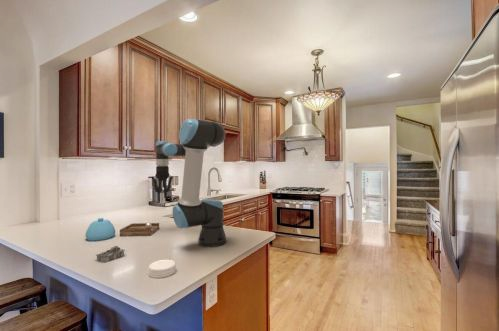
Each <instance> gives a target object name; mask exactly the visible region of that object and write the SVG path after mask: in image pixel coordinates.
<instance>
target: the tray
mask: <svg viewBox="0 0 499 331" xmlns="http://www.w3.org/2000/svg"><path fill="white" fill-rule="evenodd" d="M147 223H148V222H147ZM147 223H142V222H140V223H139V222H138V223H130V224H128V225H125V226H124V227H122V228H121V229H119V237H150V236H152V235H154V234H155V233H156V232H157V231H159V230H160V222H153V223H151V222H150V223H151V225H152V226H151V228H149V229H148V228H146V226H145V225H146V224H147Z"/></svg>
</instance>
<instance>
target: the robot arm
mask: <svg viewBox="0 0 499 331" xmlns="http://www.w3.org/2000/svg"><path fill="white" fill-rule="evenodd" d="M178 138H179V142H180V143H173V142H168V141H164V140H163V141H162V140H160V141H156V143H155V165H156V167H155V171H156V172H155V175H154V176H151V179H152V181H153V186H154V191H155V192H156V193H157V194H158V198H159V204H166V198H167V197H168V194H167V193H169V192H170V191H171V186H172V180H173V179H174V176H172V175H171V174H170V172H169V171H170V169H169V168H170V167H169V165H170V164H169V163H170V160H169V159H170V158H169V157H184V163H183V164H184V168H183V176H182V177H183V178H182V190H181V196H180V197H179V199H178V200H177V204H176V205H173V207H172V218H173V222H174V223H175V226H176V227H177V228H179V229H185V228H186V229H188V228H192V227H193V228H194V227H200V226H201V227H200V228H201V229H200V233H199V236H198V239H197V241H198V242H197V243H198V245H200V246H202V247H210V248H211V247H219V246H223V245H225V244H226V243H227V236H226V232H225V229H224V204H223V201H221V200H218V199H209V198H208V199H207V198H205V199H204V198H203V199H200V191H201V180H202V172H203V163H204V155H205V154H204V153H205V152H206V151H207V150H208V149H209V148H211V147H213V148H214V147H217V146H220V145H222V143H224V141H225V140H226V131H225V128H224V126H222V124H220V123H218V122H217V121H212V120H211V121H209V120H201V119H197V118H195V119H194V118H187V119H185V120H184V121H183V122H182V123H181V126H180V129H179V132H178ZM157 179H158V180H157ZM167 181H168V182H167ZM162 185H163V188H162ZM162 190H163V192H162Z"/></svg>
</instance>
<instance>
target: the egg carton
mask: <svg viewBox="0 0 499 331" xmlns="http://www.w3.org/2000/svg"><path fill="white" fill-rule="evenodd" d="M125 251H126V250H125V249H123V248H121V247H120V246H118V245H114V246H112V247H111V248H110V249H107V250H105V251H102V252H100V253H97V254H95V256H96V261H97V262H99V261H100V262H101V263H107V262H109V261H111V260H116V259H117V258H122V257H124V256H125Z"/></svg>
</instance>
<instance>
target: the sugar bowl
mask: <svg viewBox="0 0 499 331" xmlns="http://www.w3.org/2000/svg"><path fill="white" fill-rule="evenodd" d="M115 234H116V229H115V226H114V224H113V223H112V222H111V220H108V219H104V218H103V217H99V218H97V220H94V221H92V222H91V223H90V224H89V226H88V228H86V231H85V235H84V236H85V239H87V240H88V241H90V242H99V241H105V239H106V240H108V239H112V238H113V237H114V236H115ZM111 237H112V238H111Z"/></svg>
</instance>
